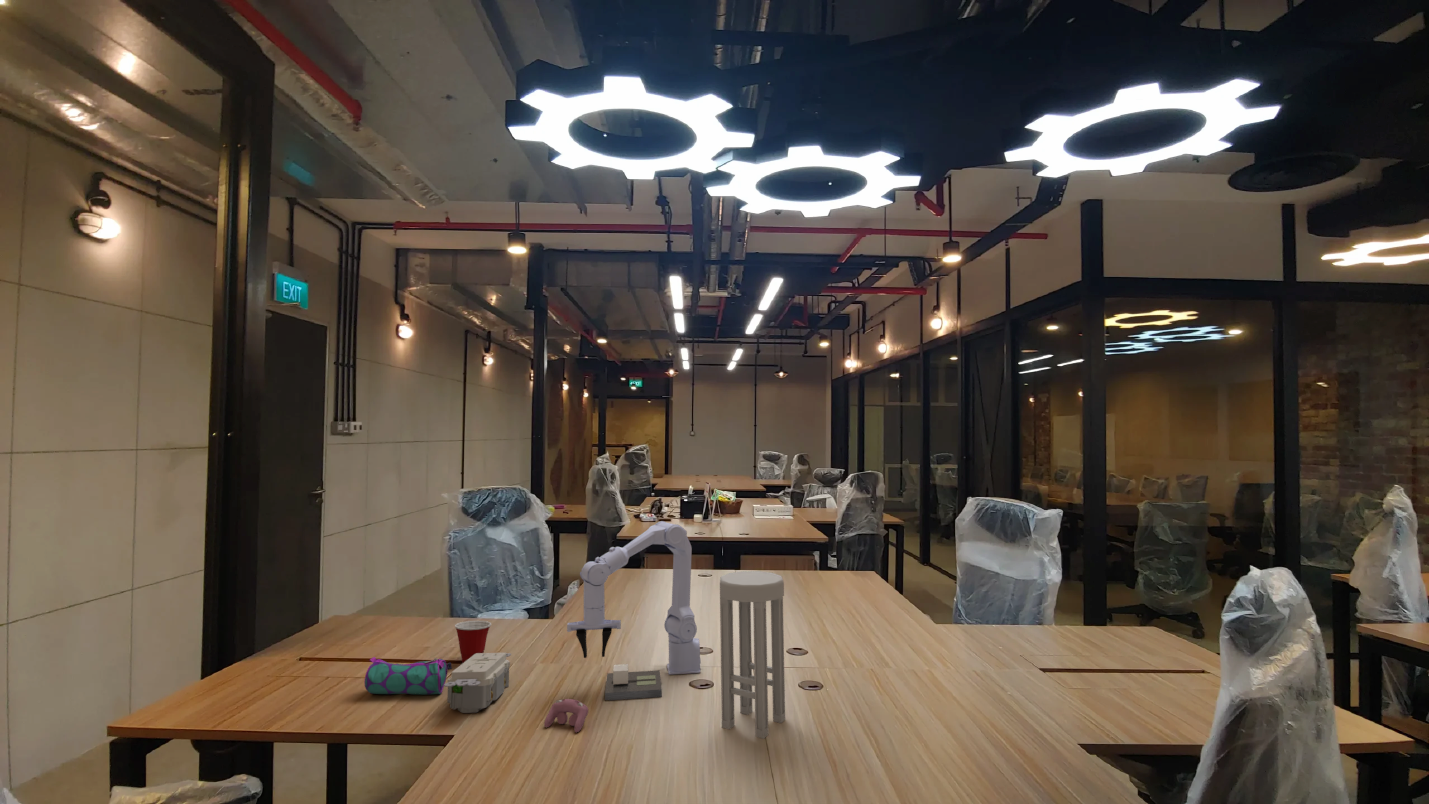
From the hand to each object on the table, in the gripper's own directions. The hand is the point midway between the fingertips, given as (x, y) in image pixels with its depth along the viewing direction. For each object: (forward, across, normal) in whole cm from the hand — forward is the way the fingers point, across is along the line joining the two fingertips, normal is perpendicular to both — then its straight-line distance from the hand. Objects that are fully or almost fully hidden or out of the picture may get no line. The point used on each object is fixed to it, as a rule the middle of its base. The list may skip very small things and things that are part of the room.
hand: (594, 656), depth 175 cm
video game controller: (+10, +5, +20) cm, 23 cm away
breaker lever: (+7, -7, 0) cm, 10 cm away
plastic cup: (+10, +39, -29) cm, 50 cm away
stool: (+10, -40, +26) cm, 48 cm away
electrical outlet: (+10, +30, 0) cm, 32 cm away
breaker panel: (+9, -11, 0) cm, 14 cm away
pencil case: (+10, +51, -7) cm, 53 cm away
